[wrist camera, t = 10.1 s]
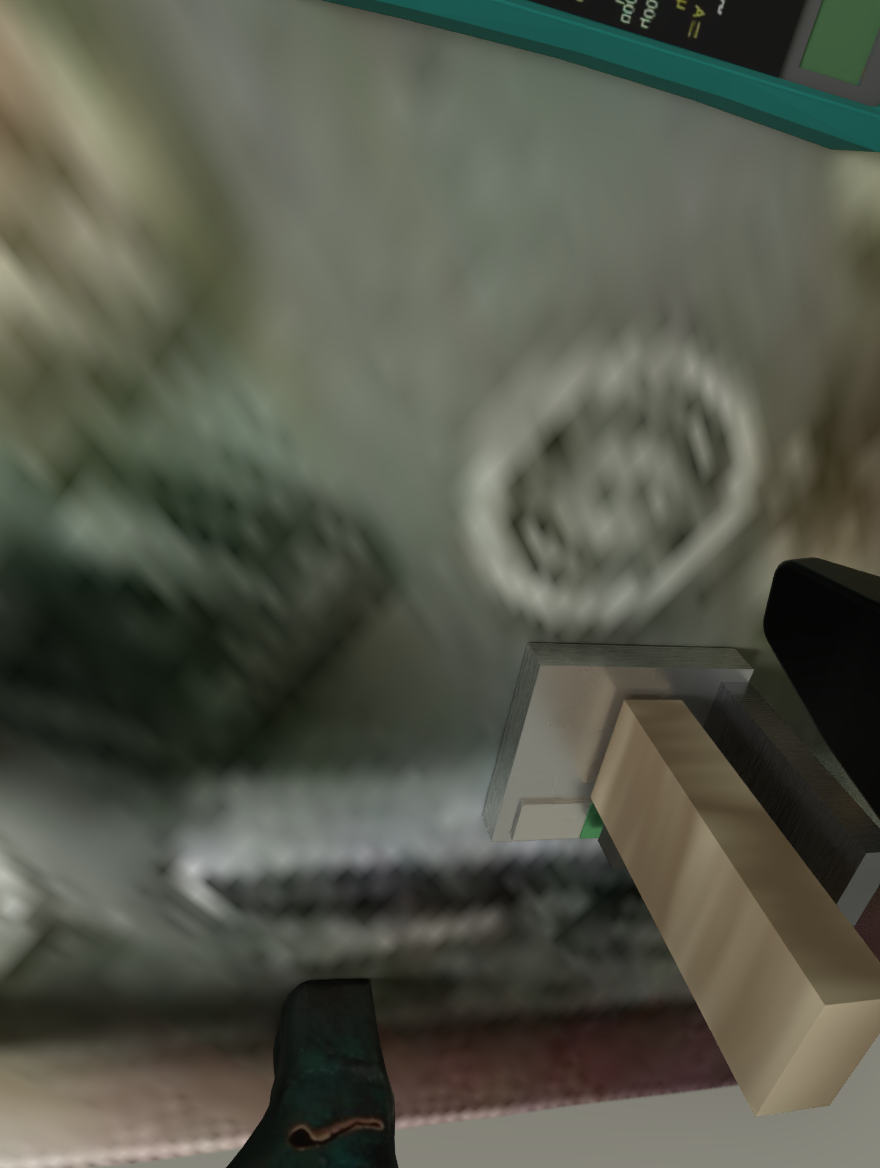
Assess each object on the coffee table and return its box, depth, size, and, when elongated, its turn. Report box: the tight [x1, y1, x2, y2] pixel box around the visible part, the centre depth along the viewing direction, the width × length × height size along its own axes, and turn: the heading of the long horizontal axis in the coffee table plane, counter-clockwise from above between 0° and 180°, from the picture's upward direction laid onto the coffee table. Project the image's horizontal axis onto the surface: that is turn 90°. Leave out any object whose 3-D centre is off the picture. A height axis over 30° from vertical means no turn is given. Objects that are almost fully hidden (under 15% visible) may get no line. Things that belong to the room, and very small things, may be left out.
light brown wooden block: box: [591, 700, 880, 1117], centre depth 22 cm, size 2×6×10 cm, turn 170°
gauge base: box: [482, 643, 880, 927], centre depth 24 cm, size 7×7×8 cm
